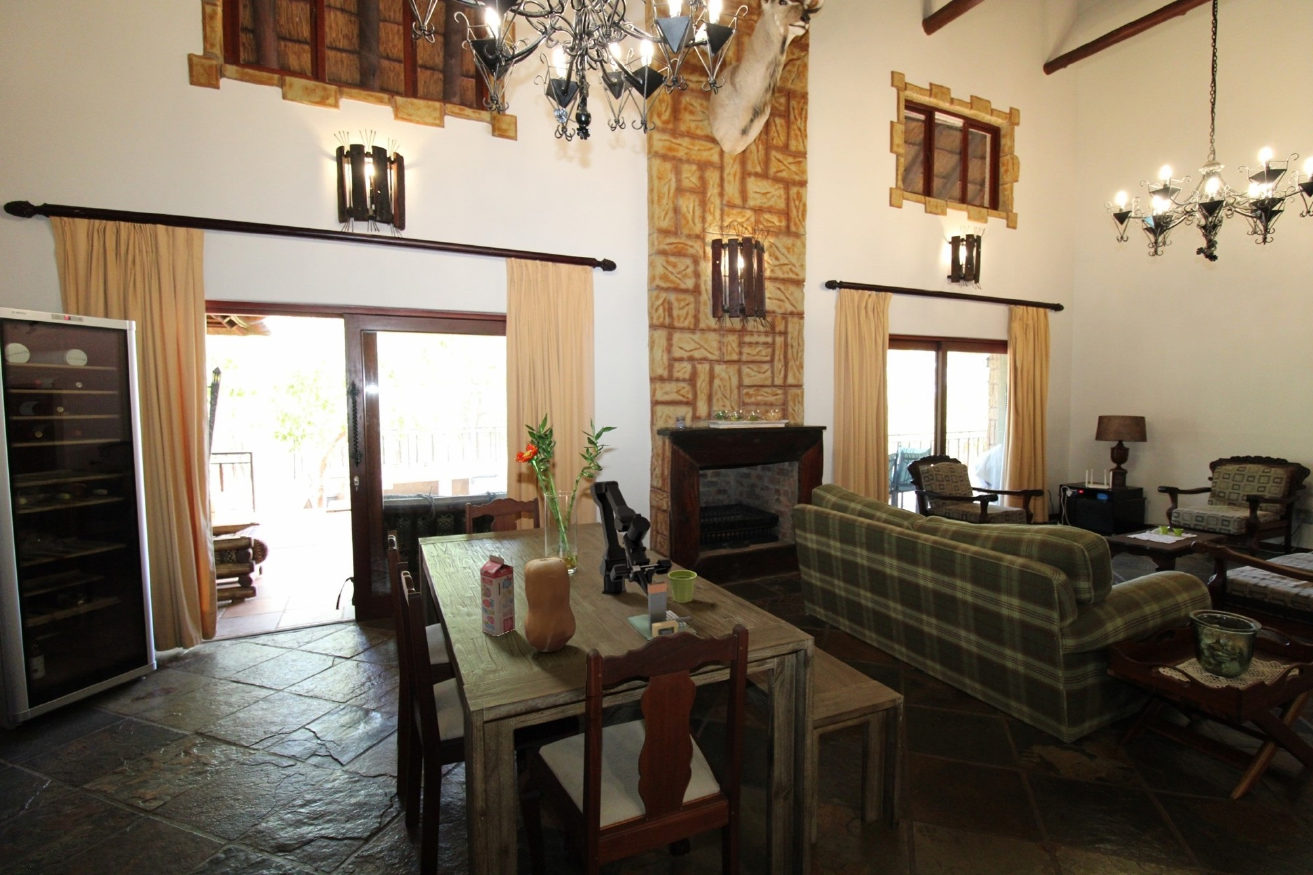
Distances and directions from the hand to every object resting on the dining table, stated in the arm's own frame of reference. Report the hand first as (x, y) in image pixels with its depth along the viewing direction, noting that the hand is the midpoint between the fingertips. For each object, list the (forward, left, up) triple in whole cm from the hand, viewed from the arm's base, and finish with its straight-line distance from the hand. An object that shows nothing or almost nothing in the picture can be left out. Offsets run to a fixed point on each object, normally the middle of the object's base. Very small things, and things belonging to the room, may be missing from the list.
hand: (649, 595), depth 180 cm
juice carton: (-39, -20, -9) cm, 45 cm away
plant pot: (+3, +22, -9) cm, 24 cm away
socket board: (+4, -1, -9) cm, 10 cm away
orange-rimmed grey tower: (+9, -4, -8) cm, 12 cm away
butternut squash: (-18, -26, -9) cm, 33 cm away
